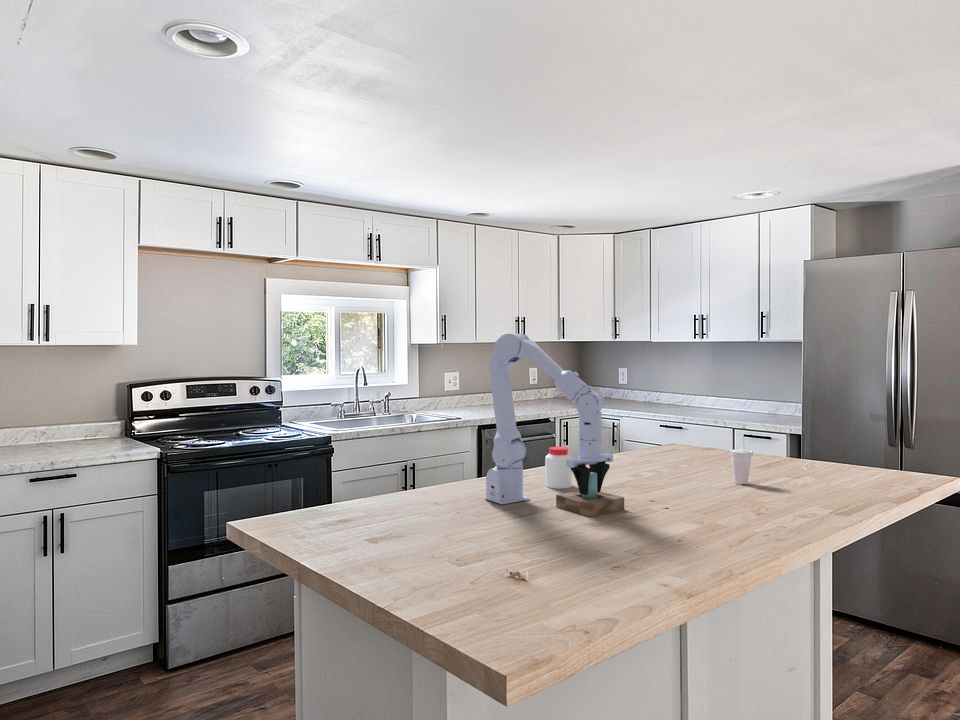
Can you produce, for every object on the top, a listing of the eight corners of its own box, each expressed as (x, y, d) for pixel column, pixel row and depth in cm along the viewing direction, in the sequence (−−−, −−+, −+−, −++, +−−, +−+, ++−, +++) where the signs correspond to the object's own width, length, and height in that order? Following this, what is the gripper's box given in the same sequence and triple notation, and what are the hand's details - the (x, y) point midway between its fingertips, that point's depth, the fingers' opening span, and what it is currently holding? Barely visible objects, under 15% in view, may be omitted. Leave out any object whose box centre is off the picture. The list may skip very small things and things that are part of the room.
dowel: (588, 503, 167) (588, 475, 167) (578, 500, 170) (578, 473, 170) (600, 501, 169) (600, 474, 169) (590, 498, 172) (590, 471, 172)
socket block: (589, 516, 161) (589, 504, 161) (556, 506, 171) (556, 494, 171) (624, 509, 168) (624, 497, 168) (590, 500, 178) (590, 488, 178)
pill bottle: (563, 489, 190) (563, 451, 190) (540, 486, 195) (540, 448, 194) (576, 485, 196) (576, 447, 196) (553, 481, 201) (554, 445, 200)
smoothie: (756, 485, 195) (756, 437, 195) (733, 485, 195) (734, 437, 195) (747, 481, 201) (748, 434, 201) (726, 481, 201) (726, 434, 201)
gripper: (580, 443, 161) (580, 499, 162) (622, 438, 170) (621, 491, 170) (560, 440, 167) (560, 494, 168) (601, 435, 175) (601, 487, 176)
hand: (589, 492), depth 169 cm, fingers closed on dowel, 4 cm apart
